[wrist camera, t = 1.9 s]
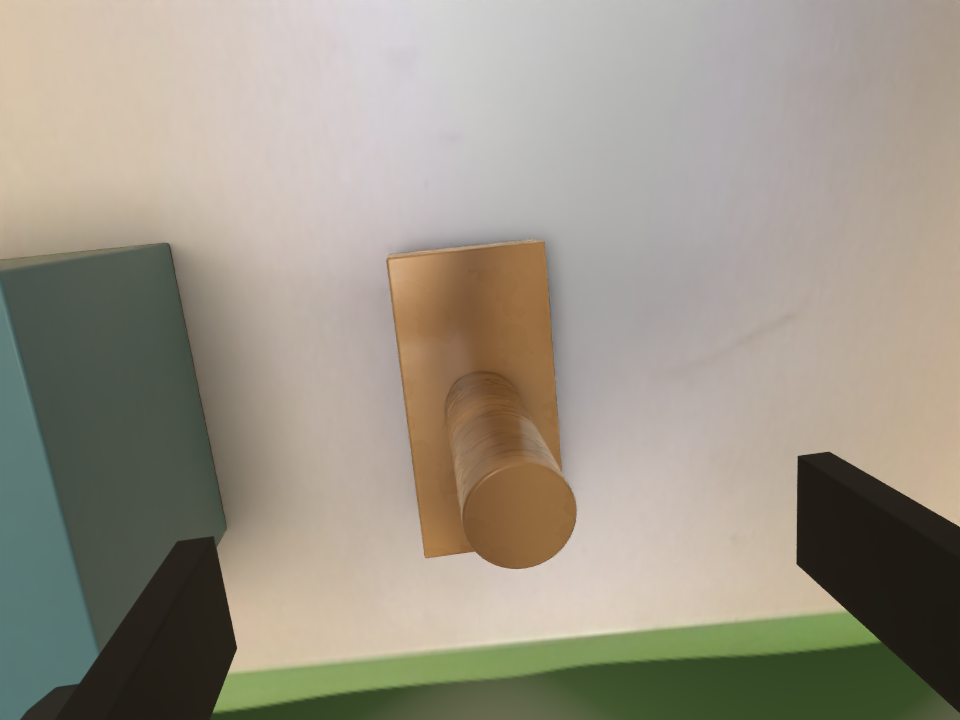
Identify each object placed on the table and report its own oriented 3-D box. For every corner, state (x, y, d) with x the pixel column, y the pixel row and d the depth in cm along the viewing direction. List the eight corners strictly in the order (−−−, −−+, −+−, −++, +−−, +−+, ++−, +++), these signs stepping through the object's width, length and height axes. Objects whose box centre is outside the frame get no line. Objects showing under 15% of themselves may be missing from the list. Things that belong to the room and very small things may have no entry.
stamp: (529, 236, 27) (622, 263, 15) (550, 503, 30) (643, 704, 18) (389, 251, 27) (370, 290, 15) (423, 520, 29) (431, 738, 17)
